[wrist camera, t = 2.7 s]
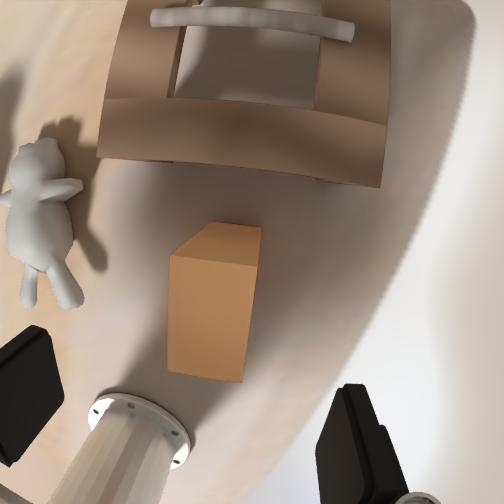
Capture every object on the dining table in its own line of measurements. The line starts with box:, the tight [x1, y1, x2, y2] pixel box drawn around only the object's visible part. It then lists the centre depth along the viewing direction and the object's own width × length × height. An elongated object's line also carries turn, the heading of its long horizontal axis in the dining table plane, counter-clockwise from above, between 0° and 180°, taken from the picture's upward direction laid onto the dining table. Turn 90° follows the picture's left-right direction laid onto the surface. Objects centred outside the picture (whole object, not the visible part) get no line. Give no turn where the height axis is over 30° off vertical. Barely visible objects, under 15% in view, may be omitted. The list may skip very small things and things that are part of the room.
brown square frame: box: [96, 0, 391, 188], centre depth 17 cm, size 17×16×9 cm
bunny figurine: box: [0, 137, 84, 310], centre depth 23 cm, size 10×5×15 cm
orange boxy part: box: [167, 221, 262, 383], centre depth 20 cm, size 6×4×11 cm, turn 173°
